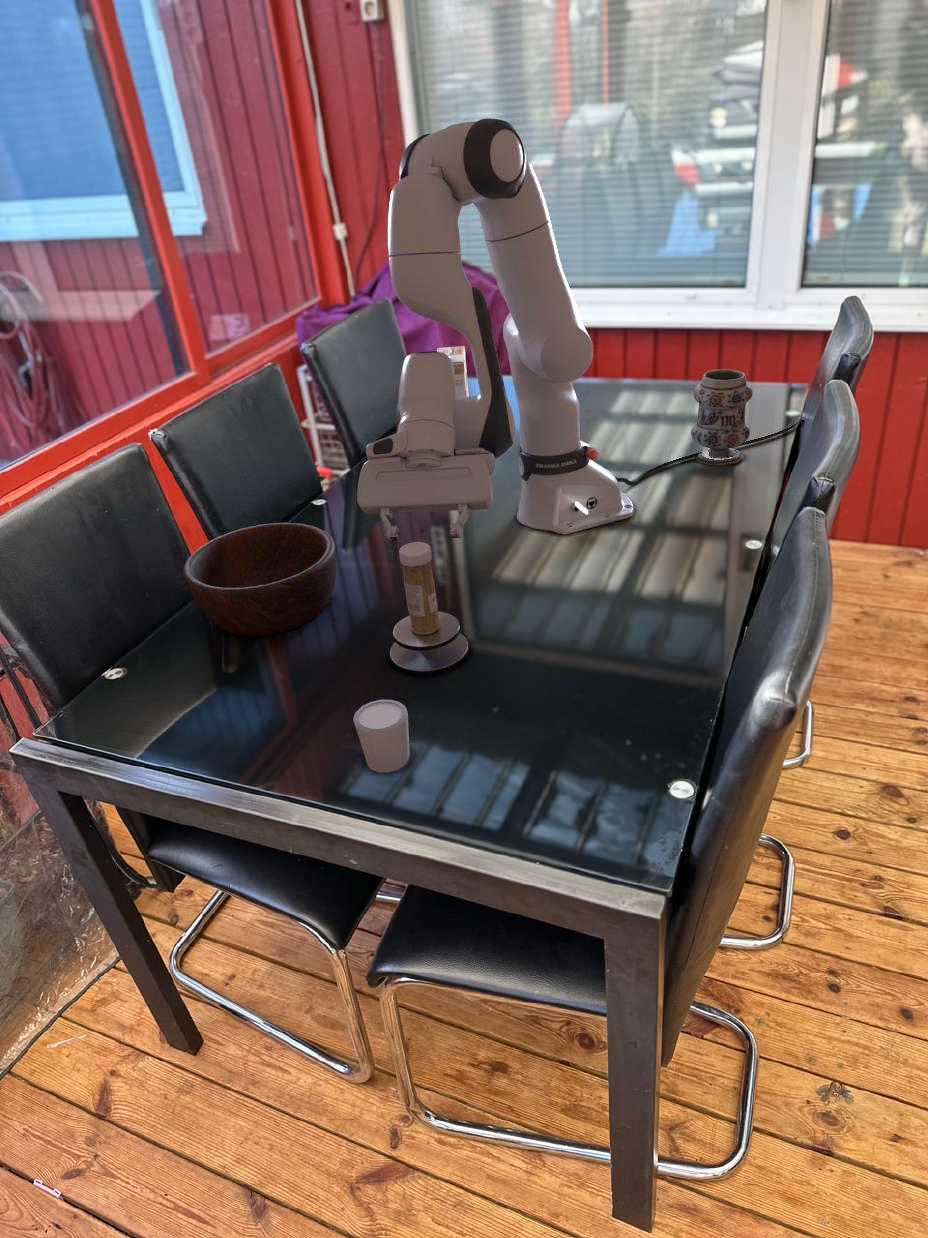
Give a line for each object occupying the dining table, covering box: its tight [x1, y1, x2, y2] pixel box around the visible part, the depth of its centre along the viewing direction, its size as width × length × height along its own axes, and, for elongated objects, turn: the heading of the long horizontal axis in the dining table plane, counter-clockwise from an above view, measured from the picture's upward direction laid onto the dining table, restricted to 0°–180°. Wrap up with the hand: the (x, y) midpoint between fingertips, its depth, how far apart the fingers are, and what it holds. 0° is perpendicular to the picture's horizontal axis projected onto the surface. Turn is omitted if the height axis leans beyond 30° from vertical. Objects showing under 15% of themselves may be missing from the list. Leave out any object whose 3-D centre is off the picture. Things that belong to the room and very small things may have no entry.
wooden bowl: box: [183, 522, 337, 637], centre depth 149 cm, size 25×25×10 cm
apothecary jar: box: [690, 368, 754, 466], centre depth 186 cm, size 12×12×18 cm
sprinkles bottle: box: [398, 541, 440, 635], centre depth 129 cm, size 5×5×14 cm
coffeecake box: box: [436, 345, 470, 397], centre depth 215 cm, size 15×7×20 cm, turn 179°
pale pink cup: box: [352, 699, 410, 773], centre depth 113 cm, size 7×7×7 cm
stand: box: [389, 611, 470, 676], centre depth 134 cm, size 12×12×4 cm
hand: (424, 538), depth 130 cm, fingers open, 8 cm apart
